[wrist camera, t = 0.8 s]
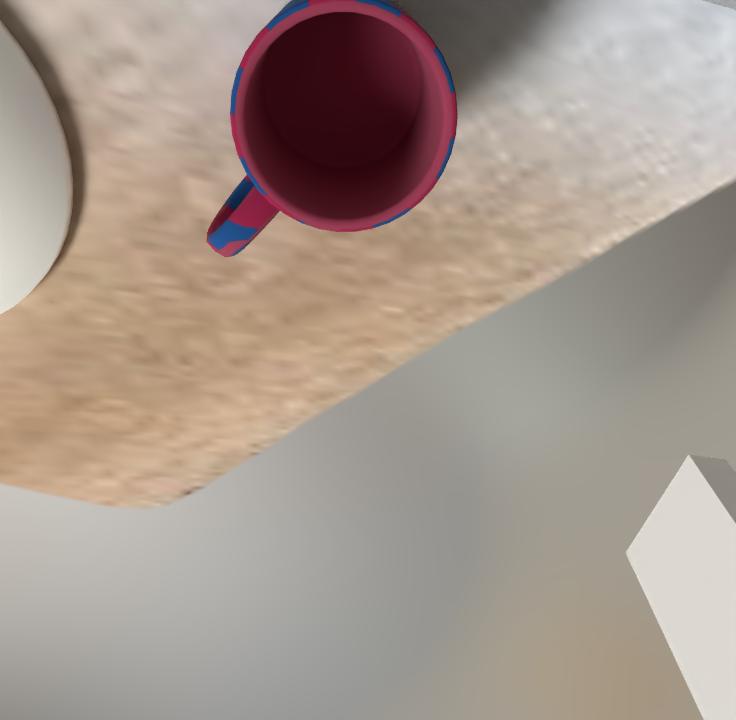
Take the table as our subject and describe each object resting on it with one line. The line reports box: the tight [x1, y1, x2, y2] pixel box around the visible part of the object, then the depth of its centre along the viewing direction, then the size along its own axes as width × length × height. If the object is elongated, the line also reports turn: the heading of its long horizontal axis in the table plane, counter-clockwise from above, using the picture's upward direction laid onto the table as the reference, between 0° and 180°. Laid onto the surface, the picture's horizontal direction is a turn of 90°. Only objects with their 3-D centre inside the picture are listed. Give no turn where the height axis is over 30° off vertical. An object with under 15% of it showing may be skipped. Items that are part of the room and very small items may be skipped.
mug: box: [207, 0, 457, 257], centre depth 22 cm, size 7×10×7 cm
